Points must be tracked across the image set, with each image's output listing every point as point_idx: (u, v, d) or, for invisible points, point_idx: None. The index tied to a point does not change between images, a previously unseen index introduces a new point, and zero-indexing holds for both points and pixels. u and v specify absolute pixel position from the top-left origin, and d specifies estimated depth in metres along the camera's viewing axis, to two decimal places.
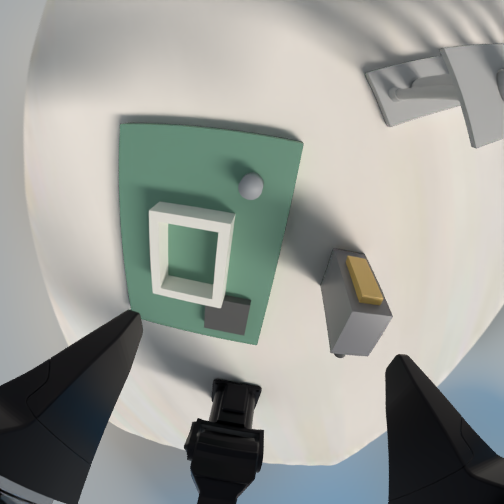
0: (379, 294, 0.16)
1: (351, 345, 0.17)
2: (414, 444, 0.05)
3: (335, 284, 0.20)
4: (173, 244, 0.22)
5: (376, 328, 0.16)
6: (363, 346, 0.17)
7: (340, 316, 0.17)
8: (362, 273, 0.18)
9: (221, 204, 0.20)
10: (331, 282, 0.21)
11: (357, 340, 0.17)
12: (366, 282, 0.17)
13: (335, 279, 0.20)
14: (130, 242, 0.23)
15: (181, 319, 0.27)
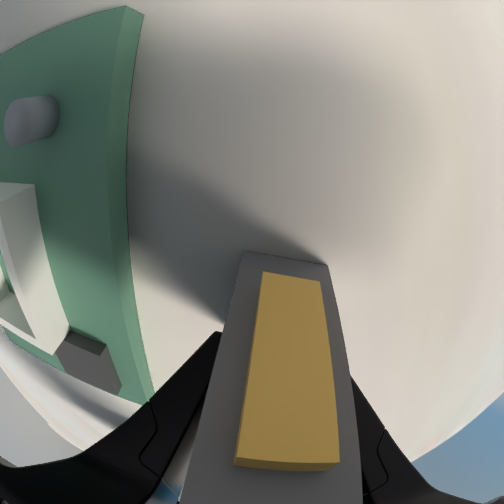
0: (325, 444, 0.03)
1: None
2: None
3: None
4: None
5: None
6: None
7: None
8: (286, 339, 0.05)
9: (18, 170, 0.07)
10: None
11: None
12: (287, 382, 0.04)
13: None
14: None
15: (47, 354, 0.14)
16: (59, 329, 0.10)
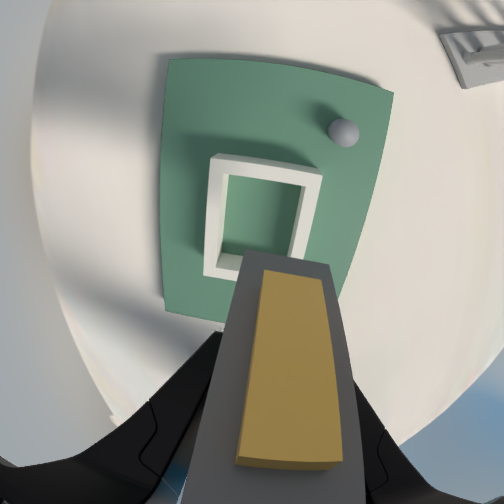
0: (328, 442, 0.03)
1: None
2: None
3: None
4: (232, 210, 0.18)
5: None
6: None
7: None
8: (288, 337, 0.05)
9: (301, 156, 0.16)
10: None
11: None
12: (289, 380, 0.04)
13: None
14: (171, 211, 0.18)
15: None
16: None
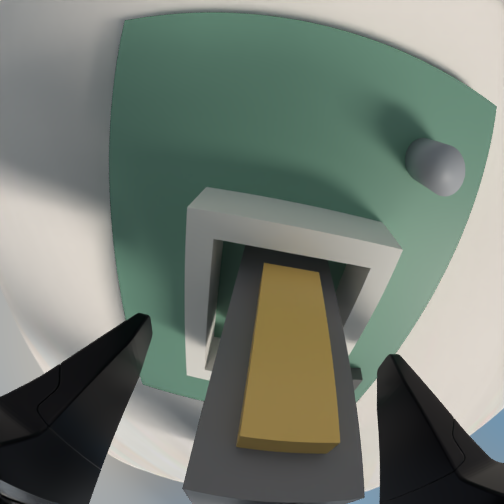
0: (326, 424, 0.04)
1: None
2: (405, 446, 0.05)
3: None
4: (231, 283, 0.11)
5: None
6: None
7: None
8: (287, 325, 0.06)
9: (357, 200, 0.08)
10: None
11: None
12: (288, 365, 0.05)
13: None
14: (134, 275, 0.11)
15: None
16: None
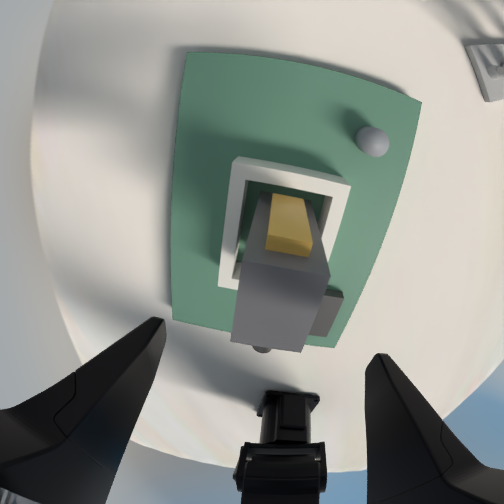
0: (305, 236, 0.10)
1: (262, 330, 0.10)
2: (391, 448, 0.05)
3: None
4: (251, 217, 0.17)
5: (302, 299, 0.09)
6: (286, 333, 0.10)
7: None
8: (286, 211, 0.12)
9: (326, 163, 0.15)
10: None
11: (271, 321, 0.10)
12: (287, 220, 0.11)
13: None
14: (183, 216, 0.17)
15: None
16: None
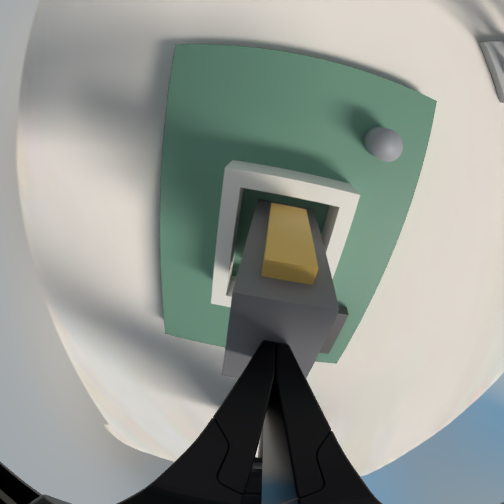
0: (309, 260, 0.08)
1: None
2: (272, 450, 0.05)
3: None
4: (247, 228, 0.15)
5: (304, 335, 0.08)
6: None
7: None
8: (286, 226, 0.10)
9: (332, 168, 0.13)
10: None
11: None
12: (287, 239, 0.09)
13: None
14: (173, 226, 0.16)
15: None
16: None
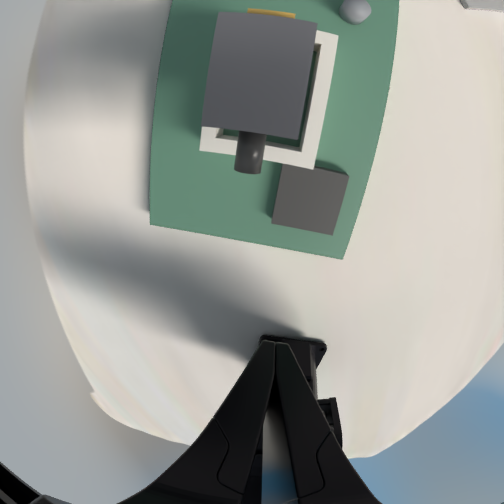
0: None
1: (243, 99, 0.07)
2: (272, 450, 0.05)
3: None
4: None
5: (289, 50, 0.06)
6: (274, 103, 0.07)
7: None
8: None
9: None
10: None
11: (253, 83, 0.07)
12: None
13: None
14: (169, 90, 0.14)
15: (231, 217, 0.18)
16: None
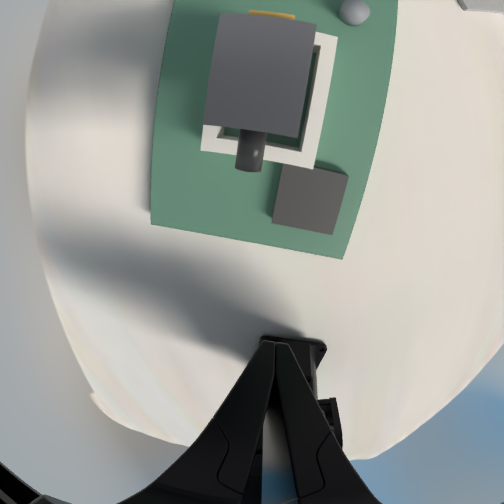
0: None
1: (244, 98, 0.07)
2: (272, 450, 0.05)
3: None
4: None
5: (289, 50, 0.06)
6: (275, 102, 0.07)
7: None
8: None
9: None
10: None
11: (254, 82, 0.07)
12: None
13: None
14: (170, 90, 0.14)
15: (232, 217, 0.18)
16: None
